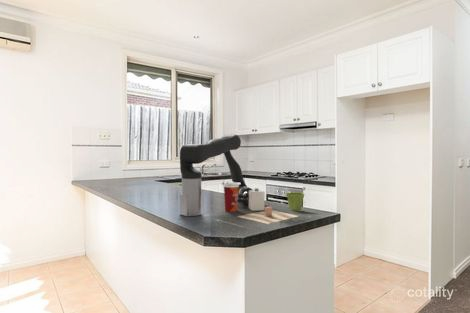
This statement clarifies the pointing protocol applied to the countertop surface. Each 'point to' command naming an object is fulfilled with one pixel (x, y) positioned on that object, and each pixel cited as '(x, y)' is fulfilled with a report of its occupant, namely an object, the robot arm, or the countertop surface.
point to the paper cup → (231, 196)
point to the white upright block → (256, 199)
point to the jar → (268, 211)
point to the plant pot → (295, 201)
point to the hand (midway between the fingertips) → (254, 197)
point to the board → (267, 220)
